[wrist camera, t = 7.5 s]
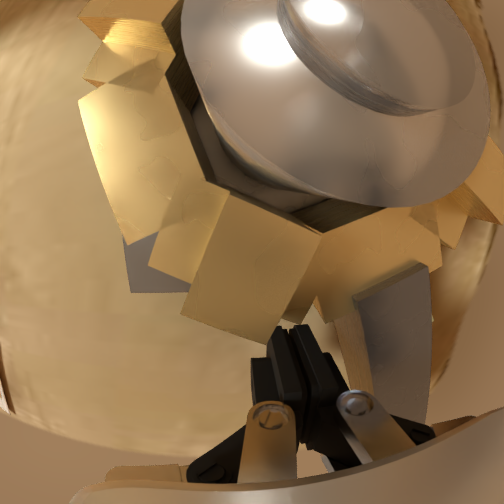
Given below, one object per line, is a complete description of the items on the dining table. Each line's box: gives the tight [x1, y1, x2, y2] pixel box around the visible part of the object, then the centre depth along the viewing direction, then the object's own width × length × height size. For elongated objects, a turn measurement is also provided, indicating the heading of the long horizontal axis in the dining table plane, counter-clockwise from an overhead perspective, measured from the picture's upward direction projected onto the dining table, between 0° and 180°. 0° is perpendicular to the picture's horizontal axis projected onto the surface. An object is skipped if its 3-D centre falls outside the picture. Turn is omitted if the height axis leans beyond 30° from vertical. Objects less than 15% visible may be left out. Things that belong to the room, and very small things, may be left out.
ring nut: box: [78, 0, 504, 425], centre depth 8 cm, size 22×12×6 cm, turn 21°
